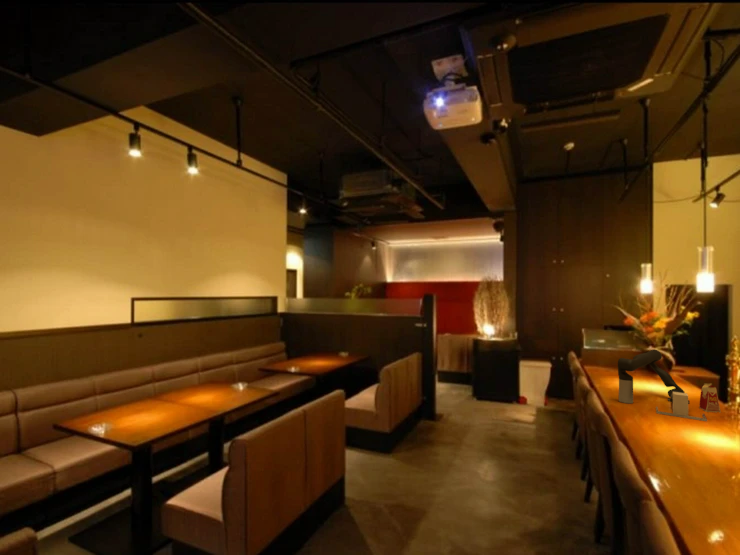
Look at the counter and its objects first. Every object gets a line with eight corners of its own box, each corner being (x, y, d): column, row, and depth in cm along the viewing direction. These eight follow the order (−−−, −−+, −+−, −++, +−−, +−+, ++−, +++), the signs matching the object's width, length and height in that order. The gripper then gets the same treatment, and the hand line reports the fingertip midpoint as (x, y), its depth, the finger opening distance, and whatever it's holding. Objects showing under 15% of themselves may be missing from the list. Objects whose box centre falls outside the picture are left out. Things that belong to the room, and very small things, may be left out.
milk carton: (721, 412, 275) (720, 384, 276) (706, 411, 277) (705, 383, 278) (712, 408, 284) (712, 381, 285) (698, 407, 286) (697, 380, 286)
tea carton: (673, 414, 271) (673, 394, 271) (672, 411, 278) (672, 391, 278) (688, 416, 266) (688, 396, 267) (687, 413, 273) (686, 393, 273)
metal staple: (656, 413, 273) (656, 411, 273) (656, 408, 284) (655, 406, 284) (707, 421, 257) (707, 419, 257) (704, 415, 268) (704, 413, 268)
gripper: (666, 391, 294) (667, 396, 279) (689, 394, 286) (691, 400, 272) (666, 401, 293) (667, 407, 279) (689, 404, 286) (691, 410, 272)
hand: (679, 403), depth 276 cm, fingers closed
